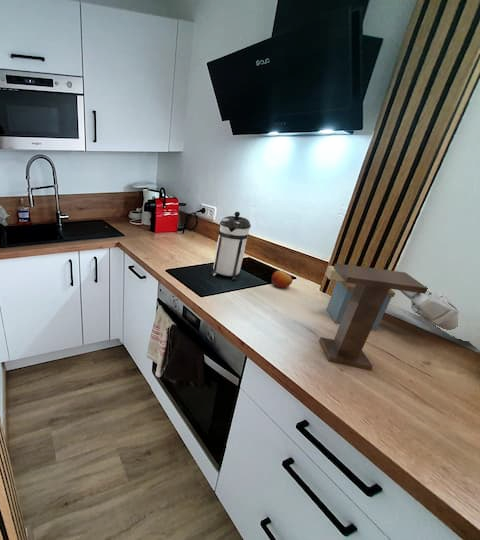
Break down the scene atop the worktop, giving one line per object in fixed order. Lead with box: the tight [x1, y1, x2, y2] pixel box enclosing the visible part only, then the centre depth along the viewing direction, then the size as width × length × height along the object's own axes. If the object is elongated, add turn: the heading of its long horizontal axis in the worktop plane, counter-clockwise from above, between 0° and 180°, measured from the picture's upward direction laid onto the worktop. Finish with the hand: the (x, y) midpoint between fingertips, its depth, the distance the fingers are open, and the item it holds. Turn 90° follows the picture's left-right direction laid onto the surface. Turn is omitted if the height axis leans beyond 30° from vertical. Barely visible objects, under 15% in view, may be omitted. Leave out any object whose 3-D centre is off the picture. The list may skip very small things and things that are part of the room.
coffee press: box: [210, 211, 252, 282], centre depth 131 cm, size 17×16×30 cm
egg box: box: [324, 265, 345, 282], centre depth 95 cm, size 22×4×5 cm, turn 70°
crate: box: [326, 280, 396, 331], centre depth 99 cm, size 13×11×14 cm
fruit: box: [271, 270, 293, 289], centre depth 124 cm, size 8×8×8 cm
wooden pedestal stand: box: [318, 263, 428, 371], centre depth 79 cm, size 16×10×26 cm, turn 70°
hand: (394, 279), depth 93 cm, fingers closed on egg box, 4 cm apart
